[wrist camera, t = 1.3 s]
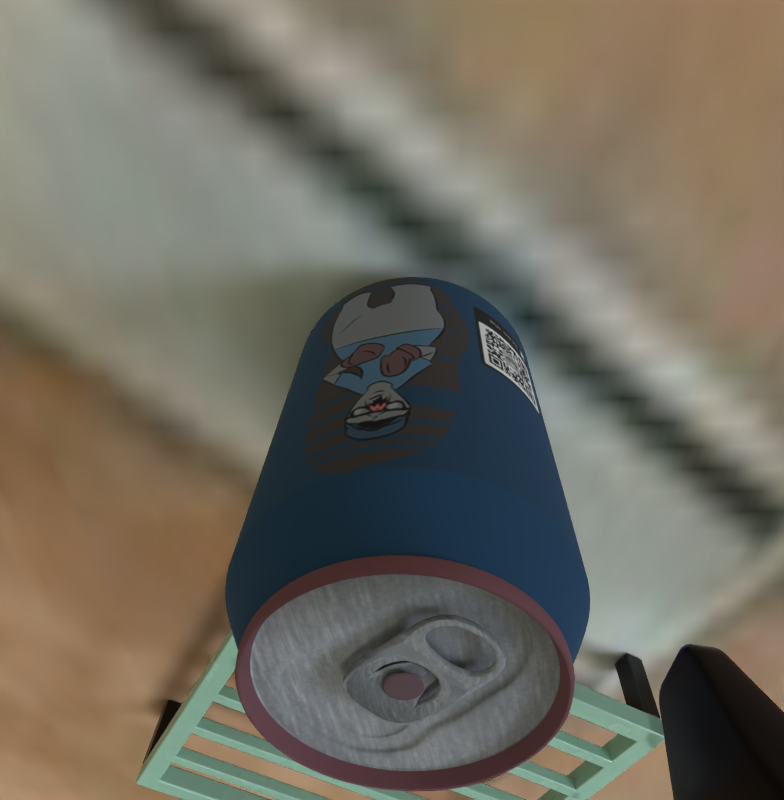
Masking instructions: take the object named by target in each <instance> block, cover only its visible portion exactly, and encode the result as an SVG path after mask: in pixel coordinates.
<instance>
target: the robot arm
mask: <svg viewBox="0 0 784 800" xmlns="http://www.w3.org/2000/svg"><path fill="white" fill-rule="evenodd" d="M659 705H660V712H661V719H662V726H663V732H664V739H665V745H666V752H667V758H668V765H669V771H670V778H671V785H672V791H673V798H674V800H784V712H783V711H782V710H781V709H780V708H779V707H778V706H777V705H776V704H775V703H774V702H773V701H772V700H771V699H770V698H769V697H768V696H767V695H766V694H765V693H764V692H763V691H762V690H761V689H760V688H759V687H758V686H757V685H756V684H755V683H754V682H753V681H752V680H751V679H750V678H749V677H748V676H747V675H746V674H745V673H744V672H743V671H742V670H741V669H740V668H739V667H738V666H737V665H736V664H735V663H734V662H733V661H732V660H731V659H730V658H729V657H728V656H727V655H726V654H725V653H724V652H723V651H721V650H720V649H717V648H715V647H708V646H701V645H693V644H687V645H685V646H683V647H682V648H681V649H680V651H679V652H678V654H677V656H676V658H675V660H674V662H673V664H672V666H671V668H670V670H669V671H668V673H667V675H666V677H665V679H664V681H663V683H662V685H661V689H660V694H659Z"/></svg>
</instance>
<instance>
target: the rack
mask: <svg viewBox="0 0 784 800" xmlns="http://www.w3.org/2000/svg"><path fill="white" fill-rule="evenodd" d="M237 653H238V649H237V646H236V643H235V639H234V636H233V633H232V629H230V631H229V632H228V634H227V635H226V637H225V638H224V640H223V641H222V643H221V644H220V646H219V648H218V649H217V651H216V652H215V654H214V655H213V657H212V658H211V660H210V661H209V663H208V665H207V666H206V668H205V669H204V671H203V672H202V674H201V675H200V677H199V678H198V680H197V682H196V683H195V685H194V686H193V688H192V689H191V691H190V692H189V694H188V695H187V697H186V699H185V700H184V702H183V703H182V705H181V704H179V703H176V702H173V701H170V700H168V701H167V703H166V705H165V706H164V708H163V710H162V712H161V715H160V718H159V721H158V723H157V726H156V729H155V731H154V734H153V737H152V739H151V742H150V745H149V748H148V750H147V753H146V756H145V758H144V761H143V765H142V767H141V769H140V772H139V775H138V778H137V780H136V784H138V785H141V786H144V787H147V788H150V789H153V790H156V791H159V792H162V793H165V794H168V795H171V796H174V797H177V798H180V799H183V800H270V799H267V798H264V797H261V796H258V795H256V794H253V793H250V792H247V791H244V790H241V789H238V788H235V787H232V786H230V785H227V784H224V783H221V782H218V781H215V780H212V779H209V778H207V777H204V776H201V775H198V774H195V773H192V772H189V771H186V770H183V769H181V768H178V767H175V766H172V765H170V764H171V763H174V764H177V765H180V766H183V767H186V768H189V769H192V770H194V771H197V772H200V773H203V774H206V775H209V776H212V777H215V778H217V779H220V780H223V781H226V782H229V783H232V784H235V785H238V786H241V787H243V788H246V789H249V790H252V791H255V792H258V793H261V794H264V795H266V796H269V797H272V798H275V799H278V800H331V799H328V798H326V797H323V796H320V795H317V794H314V793H311V792H309V791H306V790H303V789H300V788H297V787H294V786H292V785H289V784H286V783H283V782H280V781H277V780H275V779H272V778H269V777H266V776H263V775H261V774H258V773H255V772H252V771H249V770H246V769H244V768H241V767H238V766H235V765H232V764H229V763H227V762H224V761H221V760H218V759H215V758H212V757H210V756H207V755H204V754H201V753H198V752H195V751H193V750H190V749H187V748H184V747H182V746H183V745H184V744H185V742H186V741H187V739H188V738H189V736H190V735H191V733H192V734H195V735H198V736H201V737H203V738H206V739H209V740H212V741H215V742H217V743H220V744H223V745H226V746H228V747H231V748H234V749H237V750H240V751H242V752H245V753H248V754H251V755H254V756H256V757H259V758H262V759H265V760H267V761H270V762H273V763H276V764H279V765H281V766H284V767H287V768H290V769H292V770H295V771H298V772H301V773H304V774H306V775H309V776H312V777H315V778H318V779H320V780H323V781H326V782H329V783H331V784H334V785H337V786H340V787H343V788H345V789H348V790H351V791H354V792H356V793H359V794H362V795H365V796H368V797H370V798H373V799H376V800H427V799H425V798H422V797H419V796H417V795H414V794H411V793H408V792H406V791H395V790H384V789H376V788H370V787H364V786H359V785H355V784H351V783H347V782H343V781H340V780H337V779H333V778H331V777H328V776H325V775H322V774H320V773H318V772H315V771H313V770H311V769H309V768H307V767H305V766H303V765H301V764H299V763H297V762H296V761H294V760H292V759H291V758H289V757H288V756H286V755H285V754H283V753H282V752H281V751H279V750H278V749H277V748H275V747H274V746H273V745H272V744H271V743H270V742H268V741H266V740H264V739H261V738H258V737H255V736H253V735H250V734H247V733H244V732H242V731H239V730H236V729H234V728H231V727H228V726H225V725H223V724H220V723H217V722H214V721H212V720H209V719H206V718H204V717H203V716H204V714H205V713H206V711H207V710H208V708H209V707H210V705H211V704H212V703H213V702H216V703H218V704H221V705H224V706H227V707H229V708H232V709H235V710H237V711H240V712H243V713H245V711H244V709H243V706H242V704H241V701H240V699H239V696H238V692H237V690H236V689H234V688H231V687H228V686H226V685H225V684H226V682H227V681H228V679H229V678H230V676H231V675H232V673H233V672H234V670H235V666H236V658H237ZM615 666H616V669H617V673H618V676H619V680H620V683H621V687H622V690H623V694H624V697H625V701H626V704H624V703H622V702H620V701H617V700H615V699H613V698H610V697H608V696H606V695H604V694H601V693H599V692H597V691H594V690H592V689H590V688H587V687H585V686H583V685H580V684H578V683H576V682H575V690H574V697H573V701H572V705H571V708H570V711H569V713H570V714H572V715H575V716H577V717H579V718H582V719H584V720H587V721H589V722H591V723H594V724H596V725H598V726H601V727H603V728H606V729H608V730H610V731H613V732H615V733H617V734H618V735H617V736H615V737H614V738H613V739H612V740H610V741H609V742H608V743H607V744H605V745H604V746H603V747H600V746H597V745H595V744H592V743H590V742H587V741H585V740H583V739H580V738H578V737H575V736H573V735H570V734H568V733H566V732H563V731H561V730H559V731H558V733H557V734H556V735H555V736H554V738H553V739H552V740H551V741H550V742H549V743H548V744H547V745H549V746H551V747H554V748H556V749H559V750H561V751H564V752H566V753H569V754H571V755H574V756H576V757H579V758H581V759H583V760H586V761H585V762H583V763H582V764H581V765H580V766H578V767H577V768H576V769H575V770H573V771H572V772H571V773H570V774H569V775H567V776H565V775H563V774H560V773H558V772H555V771H553V770H550V769H547V768H545V767H542V766H540V765H537V764H535V763H532V762H530V761H525V762H524V763H522V764H521V765H519V766H517V767H515V768H514V769H512V770H510V771H508V773H511V774H514V775H516V776H519V777H521V778H524V779H527V780H529V781H532V782H534V783H537V784H539V785H542V786H545V787H547V788H550V790H549V791H548V792H546V793H545V794H544V795H543V796H541V797H540V798H539V799H538V800H587V799H589V798H590V797H591V796H592V795H594V794H595V793H596V792H598V791H599V790H600V789H602V788H603V787H604V786H605V785H607V784H608V783H609V782H611V781H612V780H613V779H615V778H616V777H617V776H618V775H620V774H621V773H622V772H624V771H625V770H626V769H628V768H629V767H630V766H631V765H633V764H634V763H635V762H637V761H638V760H639V759H641V758H642V757H643V756H644V755H646V754H647V753H648V752H650V751H651V750H652V749H654V748H655V747H656V746H657V745H659V744H660V743H661V742H663V741H664V740H665V739H664V732H663V726H662V721H661V719H660V715H659V712H658V709H657V706H656V703H655V700H654V697H653V694H652V691H651V688H650V685H649V682H648V679H647V676H646V672H645V669H644V666H643V663H642V661H641V660H640V659H638V658H636V657H633V656H631V655H629V654H626V655H625V656H623V657H622V658H621V659H620V660H619V661H618V662H617V663H616V664H615ZM245 714H246V713H245ZM449 790H452V791H455V792H457V793H460V794H463V795H465V796H468V797H471V798H473V799H476V800H526V799H523V798H520V797H518V796H515V795H513V794H510V793H507V792H505V791H502V790H499V789H497V788H494V787H491V786H489V785H486V784H484V783H478V784H475V785H471V786H467V787H462V788H456V789H449Z"/></svg>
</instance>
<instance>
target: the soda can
mask: <svg viewBox="0 0 784 800" xmlns="http://www.w3.org/2000/svg"><path fill="white" fill-rule="evenodd" d="M226 607H227V613H228V618H229V622H230V626H231V629H232V633H233V636H234V639H235V643H236V646H237V649H238V653H237V658H236V666H235V680H236V687H237V692H238V696H239V699H240V701H241V704H242V706H243V709H244V711H245V713H246V714H247V716H248V718H249V719H250V721H251V722H252V724H253V725H254V726H255V728H256V729H257V730H258V731H259V732H260V734H261V735H262V736H263V737H264V738H265V739H266V740H267V741H268V742H270V743H271V744H272V745H273V746H274V747H275V748H277V749H278V750H279V751H281V752H282V753H283V754H285V755H286V756H288V757H289V758H291V759H292V760H294V761H296V762H297V763H299V764H301V765H303V766H305V767H307V768H309V769H311V770H313V771H315V772H318V773H320V774H322V775H325V776H328V777H331V778H333V779H337V780H340V781H343V782H347V783H351V784H355V785H359V786H364V787H370V788H376V789H384V790H395V791H437V790H448V789H456V788H462V787H467V786H471V785H475V784H478V783H482V782H485V781H487V780H490V779H493V778H495V777H497V776H500V775H502V774H504V773H506V772H508V771H510V770H512V769H514V768H515V767H517V766H519V765H521V764H522V763H524V762H525V761H527V760H529V759H530V758H531V757H533V756H534V755H535V754H537V753H538V752H539V751H540V750H542V749H543V748H544V747H545V746H546V745H547V744H548V743H549V742H550V741H551V740H552V739H553V738H554V736H555V735H556V734H557V733H558V731H559V730H560V728H561V727H562V725H563V724H564V722H565V720H566V718H567V716H568V713H569V711H570V708H571V705H572V701H573V697H574V690H575V676H574V667H573V664H574V661H575V659H576V656H577V654H578V651H579V648H580V646H581V643H582V640H583V637H584V634H585V631H586V627H587V623H588V618H589V611H590V592H589V585H588V579H587V575H586V572H585V568H584V564H583V561H582V557H581V554H580V550H579V546H578V543H577V539H576V536H575V532H574V528H573V525H572V521H571V517H570V514H569V510H568V507H567V503H566V499H565V496H564V492H563V489H562V485H561V481H560V478H559V474H558V470H557V467H556V463H555V460H554V456H553V452H552V449H551V445H550V442H549V438H548V434H547V431H546V427H545V423H544V420H543V416H542V413H541V409H540V405H539V402H538V398H537V395H536V391H535V387H534V384H533V380H532V376H531V373H530V369H529V366H528V362H527V358H526V355H525V352H524V349H523V346H522V344H521V341H520V340H519V338H518V336H517V334H516V332H515V331H514V329H513V327H512V326H511V325H510V323H509V322H508V321H507V319H506V318H505V317H504V316H503V315H502V314H501V313H500V312H499V311H498V310H497V309H496V308H495V307H494V306H493V305H491V304H490V303H489V302H488V301H486V300H485V299H483V298H482V297H480V296H479V295H477V294H475V293H473V292H471V291H469V290H467V289H465V288H463V287H461V286H458V285H455V284H452V283H449V282H446V281H441V280H437V279H430V278H419V277H405V278H395V279H389V280H385V281H381V282H377V283H374V284H371V285H368V286H365V287H363V288H361V289H359V290H357V291H355V292H353V293H351V294H349V295H348V296H346V297H344V298H343V299H341V300H340V301H339V302H337V303H336V304H335V305H334V306H333V307H331V308H330V309H329V310H328V311H327V312H326V313H325V314H324V315H323V316H322V318H321V319H320V320H319V321H318V323H317V324H316V325H315V327H314V328H313V330H312V331H311V333H310V335H309V337H308V339H307V341H306V343H305V346H304V348H303V351H302V354H301V357H300V360H299V363H298V366H297V369H296V372H295V375H294V378H293V381H292V384H291V386H290V389H289V392H288V395H287V398H286V401H285V404H284V407H283V410H282V413H281V416H280V419H279V422H278V424H277V427H276V430H275V433H274V436H273V439H272V442H271V445H270V448H269V451H268V454H267V457H266V460H265V463H264V465H263V468H262V471H261V474H260V477H259V480H258V483H257V486H256V489H255V492H254V495H253V498H252V501H251V503H250V506H249V509H248V512H247V515H246V518H245V521H244V524H243V527H242V530H241V533H240V536H239V539H238V542H237V544H236V547H235V550H234V553H233V556H232V559H231V562H230V565H229V569H228V573H227V578H226Z"/></svg>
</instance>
